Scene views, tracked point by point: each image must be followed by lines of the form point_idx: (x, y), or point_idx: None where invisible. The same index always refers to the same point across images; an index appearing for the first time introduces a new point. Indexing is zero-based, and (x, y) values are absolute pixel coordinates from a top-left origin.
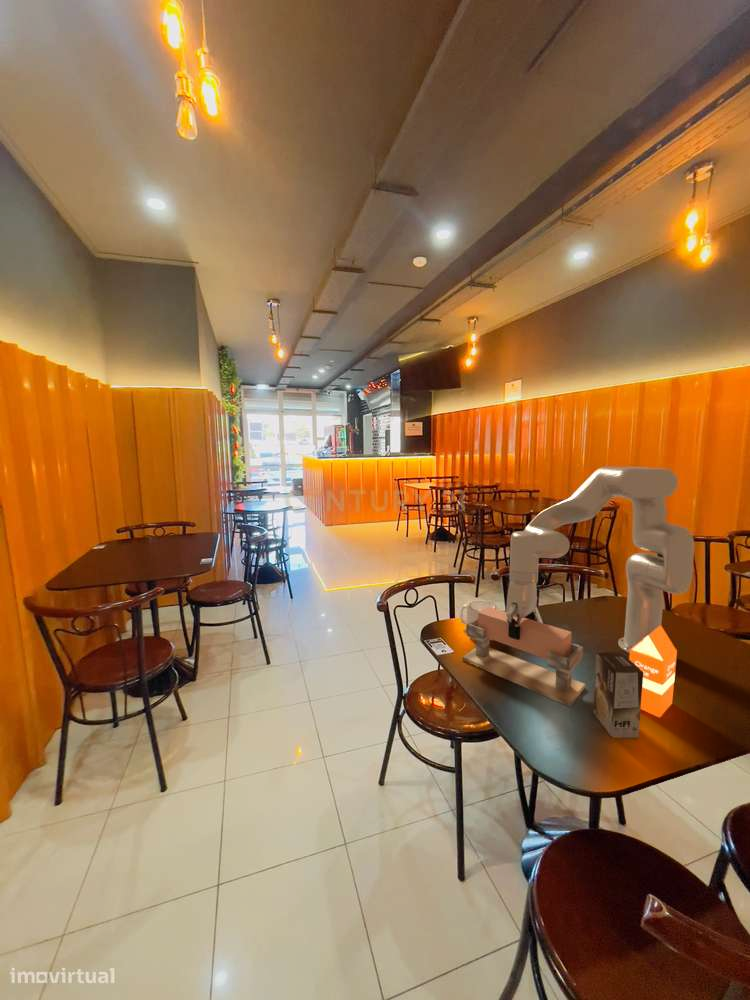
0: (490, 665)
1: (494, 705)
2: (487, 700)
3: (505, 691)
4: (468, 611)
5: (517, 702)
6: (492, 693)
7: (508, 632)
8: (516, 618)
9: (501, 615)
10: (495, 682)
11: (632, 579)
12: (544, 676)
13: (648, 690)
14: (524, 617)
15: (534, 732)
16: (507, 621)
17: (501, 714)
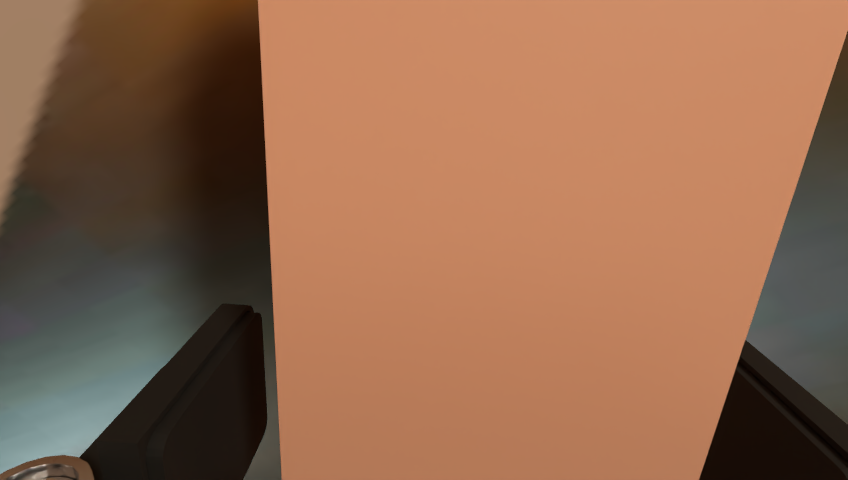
0: None
1: (55, 225)
2: (59, 178)
3: (211, 219)
4: None
5: (175, 301)
6: (136, 171)
7: (197, 330)
8: (564, 399)
9: (529, 60)
10: (247, 136)
11: None
12: None
13: None
14: (784, 422)
15: (51, 420)
16: (295, 317)
17: (27, 280)
